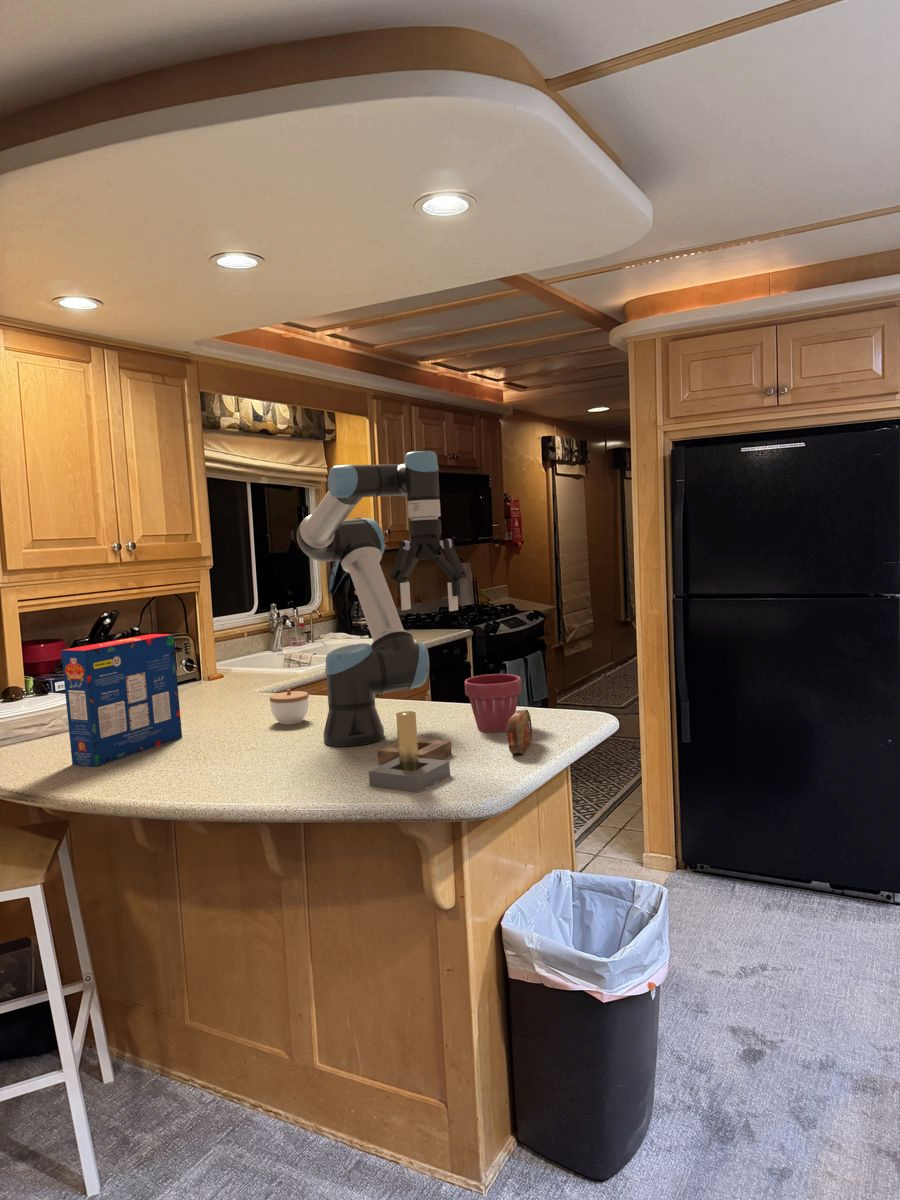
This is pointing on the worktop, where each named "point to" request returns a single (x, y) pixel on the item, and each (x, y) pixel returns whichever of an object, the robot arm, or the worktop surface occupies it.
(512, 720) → the tin
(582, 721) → the worktop surface
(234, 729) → the worktop surface
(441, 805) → the worktop surface
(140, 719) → the pasta box
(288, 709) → the lidded jar
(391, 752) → the brown wooden square frame
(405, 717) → the lock pin
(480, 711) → the plant pot
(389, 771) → the plate
